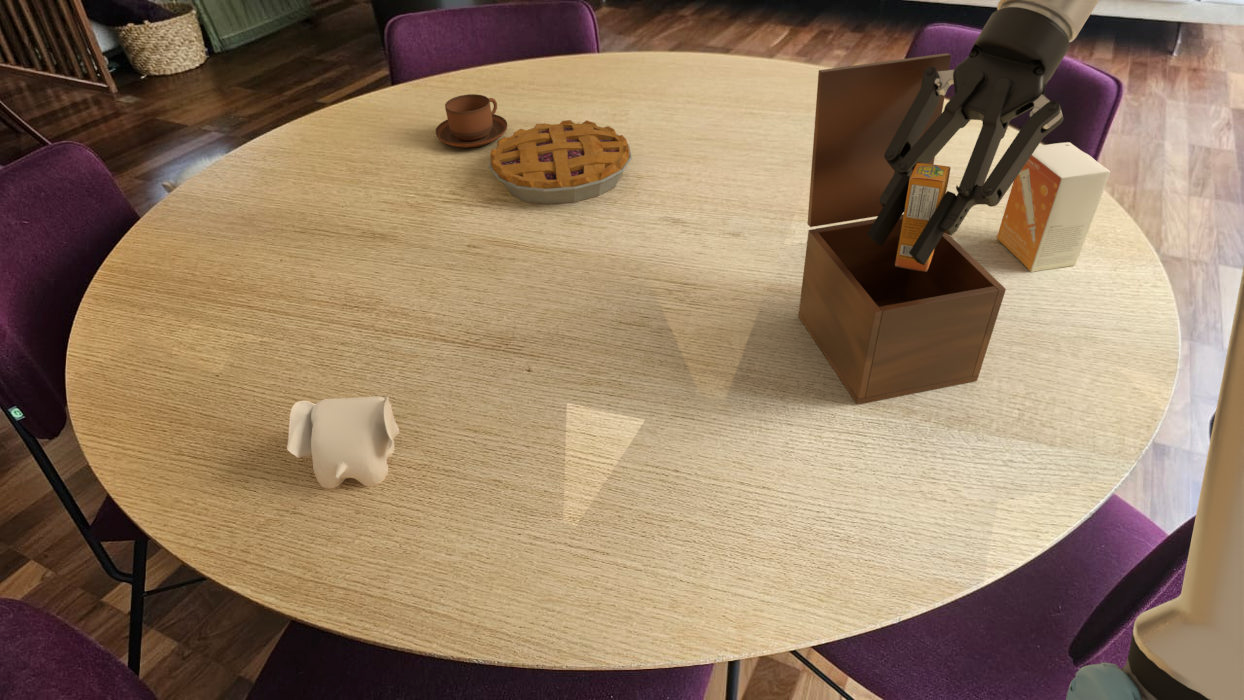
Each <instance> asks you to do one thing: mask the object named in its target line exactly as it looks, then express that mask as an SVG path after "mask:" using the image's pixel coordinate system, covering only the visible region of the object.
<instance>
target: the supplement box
mask: <svg viewBox="0 0 1244 700" xmlns="http://www.w3.org/2000/svg"><path fill="white" fill-rule="evenodd" d="M950 174H951V166H950V165H949V166H947V165H941V164H935V163H934V164H926V163H917V164H916V166H915V168H914V170H913V172H912V174H911V177H910V179H909V186H908V192H907V198H906V204H905V209H904V212H903V214H904V215H903V221H902V227H901V233H900V239H899V244H898V250H897V256H896V261H895V266H897V267H902V268H907V269H912V270H917V271H924V272H927V270H928V268H929V265H930V262H931V259H932V256H933V253H934V250H933V252H932V253H931V255H930V257H929V258H928V260H927V261H926V263H925V265H922V264H920V263H918V262H916V260H915V259H914V258H913V257H912V256H911V255H910V254H909V252H910V250H911V249H912V247H913V246H914V244H915V242H916V241H917V239H918V238H919V236H920V234H921V233H922V231H923V229H924V228H925V226H926V225H927V223H928V221H929V220H930V218H931V217H932V215H933V213H934V212H935V210H936V209H937V207H938V205H939V204H940V202H941V200H942V199H943V197H944V196H945V194H946V192H947V191H948V185H949V180H950Z"/></svg>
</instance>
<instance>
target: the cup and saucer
mask: <svg viewBox="0 0 1244 700" xmlns="http://www.w3.org/2000/svg"><path fill="white" fill-rule="evenodd" d="M491 103H492V105H493V108H492V109H491ZM444 109H445V114H446V119H445V120H443V121H442V122H441V123H439V124H438V125H437V126H436V128H435V136H436V137H437V139H438V140H440V142H442V143H443V144H446V145H448V146H451V147H456V148H477V147H481V146H485V145H488V144H491V143H493V142H495V141H498V140H499V139H501V137H502V136H503V135H504V134H505V133H506V132H507V129H508V122H507V120H506V119H505V118H504V117H503V116H501V115H498V114H496V112H497V110H498V102H497V101H496V99H495V98H493V97H487V96H485V95H483V94H477V93H476V94H474V93H473V94H463V95H457V96H455V97H452V98H450V99H448V100H447V101H446V102H445V104H444Z"/></svg>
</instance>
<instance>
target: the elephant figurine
mask: <svg viewBox="0 0 1244 700" xmlns="http://www.w3.org/2000/svg"><path fill="white" fill-rule="evenodd" d="M392 406H393V404H392V403H391V402H390V397H389V395H386V396H385V397H384V396H381V395H374V396H373V395H372V396H360V397H359V396H357V397H339V398H338V397H337V398H324V399H321V400H319V401H317V402H316V403H314V402H312V401H309V400H299V401H296V402H295V403H294V404H293V405H292V406H291V408H290V413H289V422H288V434H287V435H288V436H287V445H286V450H287V451H288V452H289V453H290V454H292V455H293V456H295V458H297V459H300V458H307V457H310V456H311V460H312V468H313V474H314V476H315V478H316V481H317V483H318V484H319V485H320V486H321V487H322V488H324V489H329V490H330V489H335V488H337V487H340V486H341V485H342V484H343V483H344V481H345V480H346V479H354V480H356V481H358V482H359V483H360V484H361V485H362V486H364V487H369V488H370V487H373V486H377V485H379V484H380V483H382V482H383V481H385V479H386V477H387V476H388V474H389V464H388V459H389V458H390V457H391V456H393V454H394V452H395V448H396V447H395V440H394V439H395V438H396V437H398V436H399V433H400V427H399V425H398V424H397V422H396V418H395V416H394V413H393V409H392Z"/></svg>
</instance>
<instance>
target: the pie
mask: <svg viewBox="0 0 1244 700" xmlns="http://www.w3.org/2000/svg"><path fill="white" fill-rule="evenodd" d="M632 156H633V155H632V151H631V146H630V144H629V143H628V140H627V138H626V137H624V135H622V134H620V135H619V134H618V133H617V132H616V130H615V129H614V128H613V127H611V126H609V125H607V126H604V127H602V126H598V125H597V124H596V122H593V121H590V120H584V121H583V122H582V123H575V122H573V120H571V119H567V120H562V121H561V122H560V123H555V124H550V123H545V122H543V123H536V124H535V125H534V126H533V128H528V129H523V128H519V129H518V130H516V131H515V132H513V134H512V135H511V136H509V137H507V136H504V137H502V138H499V139H498V140H497V143H496V147H495V148H492V149H491V150H490V155H489V164H488V169H489V170H490V171H491V173H492V174H493V175H494V177H495V179H497V180H498V181H499V182H500V183H502V184H503V185H504V187H505V188H506V189H507V191H508V192H509V193H510V194H511V196H513V197H516V198H518V199H519V200H522V201H523V202H525V203H534V204H540V205H541V204H542V205H555V204H568V203H576V202H580V201H584V200H587V199H592V198H595V197H599V196H601V195H603V194H605V193H607V192H608V191H611V190H612V189H614V188H616V187H617V185H618V183H619V181H620V180H621V178H622V176H623V174H624V172H625V170H626V169H627V167H628V165H629V164H630V163H631V161H632V159H633V157H632Z"/></svg>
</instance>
